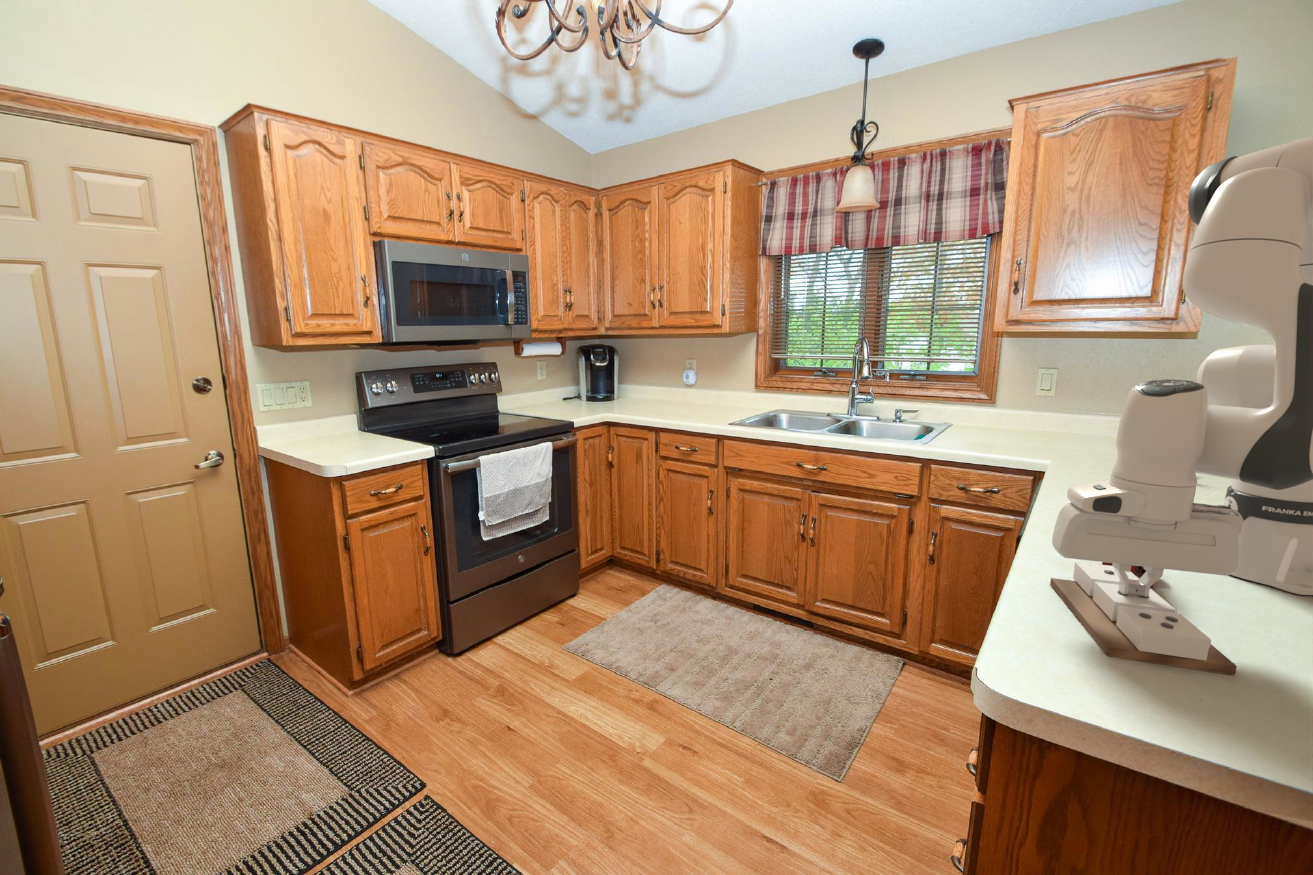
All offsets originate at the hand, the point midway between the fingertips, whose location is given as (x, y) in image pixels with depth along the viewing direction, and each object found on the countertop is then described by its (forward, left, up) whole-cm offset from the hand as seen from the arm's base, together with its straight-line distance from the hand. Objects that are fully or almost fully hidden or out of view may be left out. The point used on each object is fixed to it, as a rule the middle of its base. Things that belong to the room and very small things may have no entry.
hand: (1132, 593), depth 80 cm
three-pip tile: (0, +8, -3) cm, 8 cm away
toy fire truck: (-7, -19, -5) cm, 21 cm away
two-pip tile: (0, 0, -3) cm, 3 cm away
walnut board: (0, 0, -5) cm, 5 cm away
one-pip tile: (0, -8, -3) cm, 9 cm away
